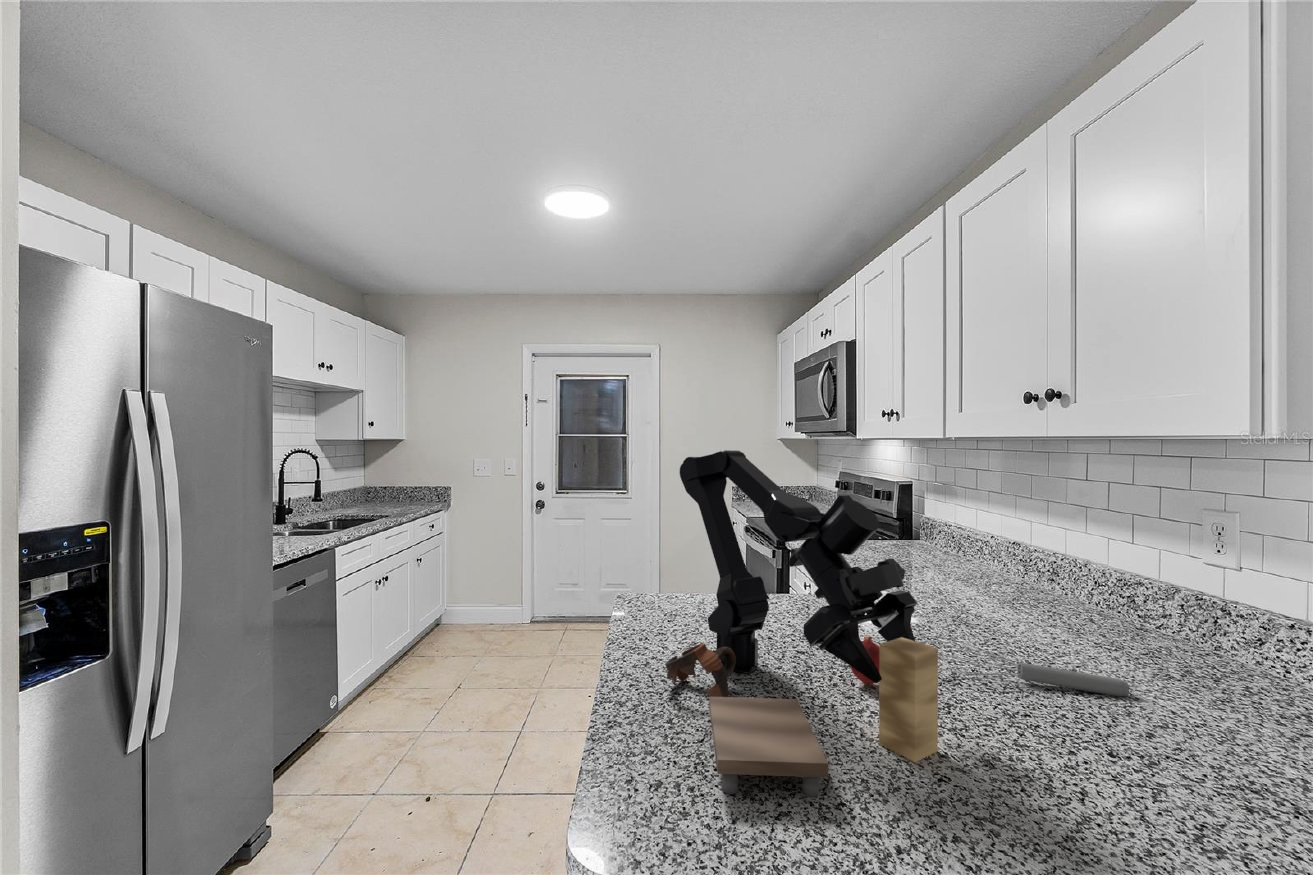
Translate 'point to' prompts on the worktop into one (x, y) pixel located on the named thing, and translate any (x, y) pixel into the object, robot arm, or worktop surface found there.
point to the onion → (874, 654)
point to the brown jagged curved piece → (704, 667)
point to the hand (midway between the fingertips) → (900, 674)
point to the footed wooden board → (765, 741)
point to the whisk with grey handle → (1053, 675)
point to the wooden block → (908, 698)
